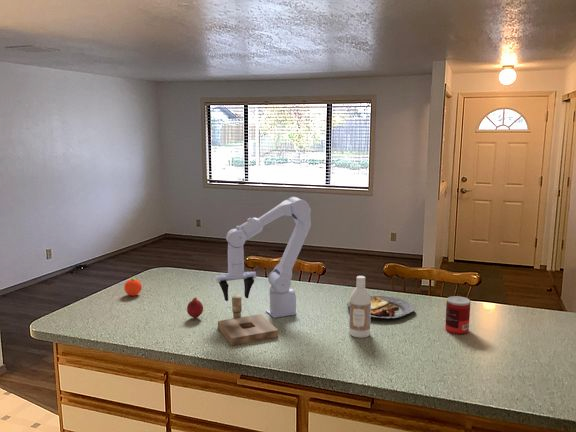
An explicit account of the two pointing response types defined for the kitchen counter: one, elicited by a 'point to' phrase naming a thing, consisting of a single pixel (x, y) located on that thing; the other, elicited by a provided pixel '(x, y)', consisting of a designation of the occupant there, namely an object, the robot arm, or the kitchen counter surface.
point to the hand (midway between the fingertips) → (236, 298)
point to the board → (247, 329)
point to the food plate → (388, 307)
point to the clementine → (132, 287)
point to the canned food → (457, 315)
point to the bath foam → (360, 310)
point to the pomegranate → (195, 308)
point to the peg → (236, 306)
